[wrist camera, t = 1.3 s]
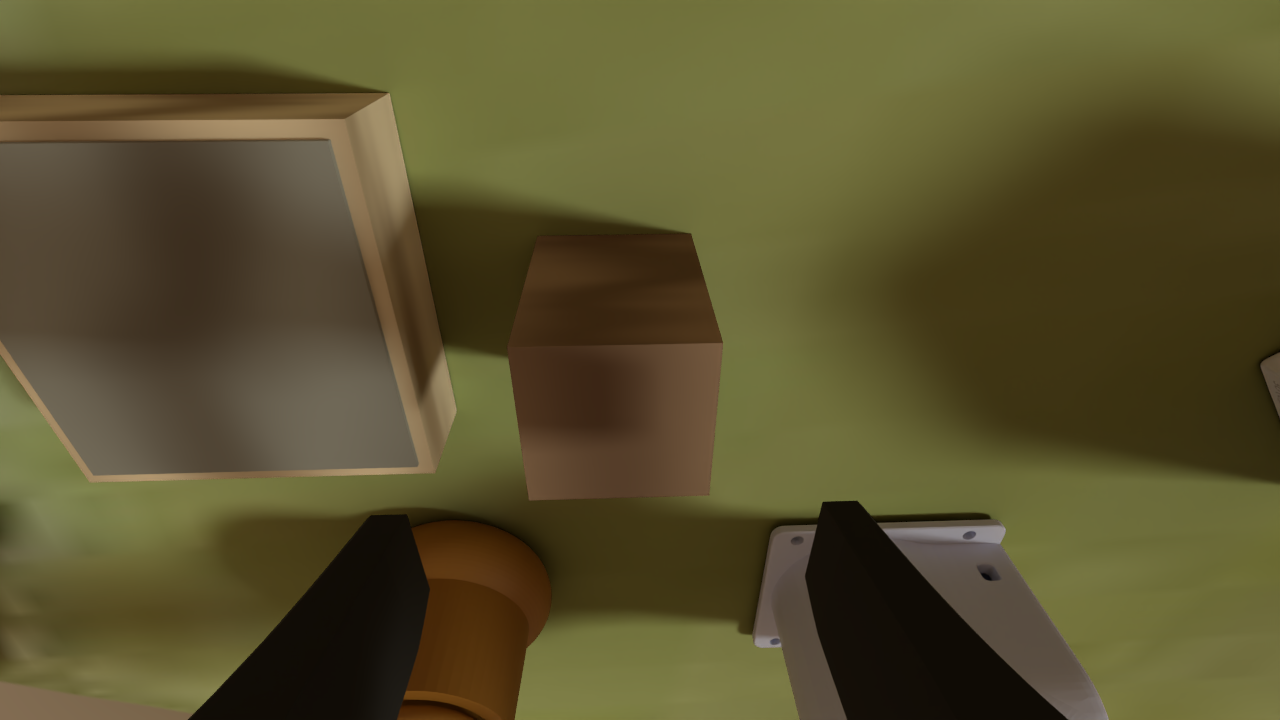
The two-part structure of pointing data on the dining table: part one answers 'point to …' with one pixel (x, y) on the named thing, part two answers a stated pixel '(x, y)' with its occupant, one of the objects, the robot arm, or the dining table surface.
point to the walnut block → (615, 368)
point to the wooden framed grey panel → (219, 285)
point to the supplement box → (1273, 378)
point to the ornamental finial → (474, 622)
